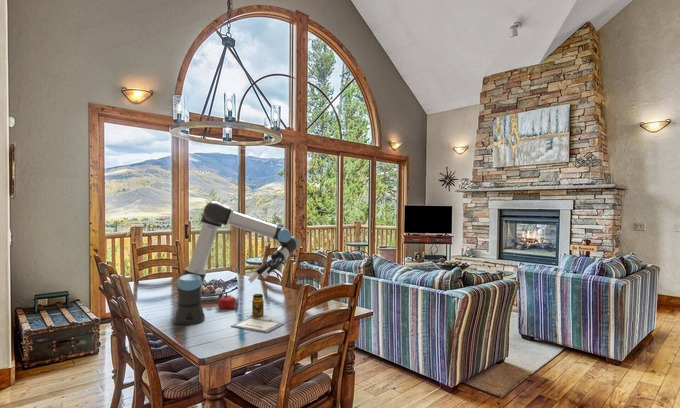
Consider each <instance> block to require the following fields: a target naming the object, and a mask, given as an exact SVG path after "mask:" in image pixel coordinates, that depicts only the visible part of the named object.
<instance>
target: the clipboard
mask: <svg viewBox="0 0 680 408" xmlns="http://www.w3.org/2000/svg"><path fill="white" fill-rule="evenodd" d="M284 325H285V322H280V321H279V322H278V321H275V320H274V321H273V320H272V319H271V318H266V317H262V318H259V319H256V318H252V317H247V318H244V319H243V320H240V321H239V322H236V323H233V324H231V325H230V327H231V328H235V329H240V330H241V329H242V330H248V331H254V332H257V333H264V334H269V333H271V332H272V331H275V330H276V329H279V328H280V327H282V326H284Z"/></svg>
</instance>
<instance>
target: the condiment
mask: <svg viewBox="0 0 680 408" xmlns="http://www.w3.org/2000/svg"><path fill="white" fill-rule="evenodd" d="M251 302H252V304H251V305H252V307H251V308H252V309H251V310H252V312H251V314H249V315H247V318H256V319H260V318H266V316H268V315H266V314H264V304H265V301H264V295H263V294H261V293H255V294H253V296H252V301H251Z"/></svg>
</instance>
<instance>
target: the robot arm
mask: <svg viewBox="0 0 680 408" xmlns="http://www.w3.org/2000/svg"><path fill="white" fill-rule="evenodd" d="M200 223H201V228H200V231H199V234H198V237H197V240H196V243H195V246H194V250H193V252H192V255H191V259H190V261H189V265H188V266H187V267H185V268H184V271H183V274H182V275H181V276H180V277H178V279H177V285H176V286H177V308H176V310H175V314H174V317H173V323H174V324H176V325H178V326H179V325H180V326H190V325H191V326H192V325H196V324H199V323H202V322H204V321H205V320H206V319H205V317H206V315H205V313H204V309H203V306H202V289H203V285H204V280H205V277H206V275H207V272H206V270H205V269H206V267H207V263H208V260H209V257H210V254H211V251H212V247H213V245H214V241H215V238H216V235H217V232H218V229H221V228H222V225H224V226H228V225H229V226H234V227H236V228H239V229H242V230H245V231H248V232H252V233H255V234H258V235H261V236H264V237H266V238H267V237H268V238H270V239H273V240H276V241H278V243H279V244H280V246H279V247H278V248H277V249H276V250H275V251H274V252H272V254H271V255H270V259H269V260H267V261H266V262H265V263H264V264H262V265H261V266H260V267H258V268H257V269H256V270H254V272H253V274H252V275H250V277H249V278H248V279H247V280H248V281H249V282H250V283H251V284H253V282H254V281H255V280H256V279H257V278H258V277H260V275H261V276H262V278H263V279H266V278H268V276H269V275H270V274H271V273H272V272H273V271H275V270H277V269H278V267H279V266H280V265H281V264H282V263H284V261H286V260H288V257H290V255H291V254H293V252H294V251H296V250H297V248H298V247H299V246H300V241H299V239H298V238H296V237H295V236H292V233H291V231H290V230H289V229H288V228H285V227H284V225H283V224H282V223H281V222H277V223H275V224H272V223H270V222H266V221H264V220H261V219H259V218H255V217H252V216H249V215H247V214H243V213H241V212H237V211H234V209H233V208H232V207H229V206H227V205H224V204H223V203H222V202H219V200H218V201H216V200H213V201H210V202H208V203H207V204H205V206H204V209H203V213H202V215H201V219H200Z"/></svg>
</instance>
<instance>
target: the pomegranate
mask: <svg viewBox="0 0 680 408" xmlns="http://www.w3.org/2000/svg"><path fill="white" fill-rule="evenodd" d="M236 301H237V300H236V298H235V297H234V296H232V295H231V294H229V295H228V292H225V294H221V297H220V298H219V300H218V301H217V305H218V309H220V310H231V309H234V308H235V306H236Z"/></svg>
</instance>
